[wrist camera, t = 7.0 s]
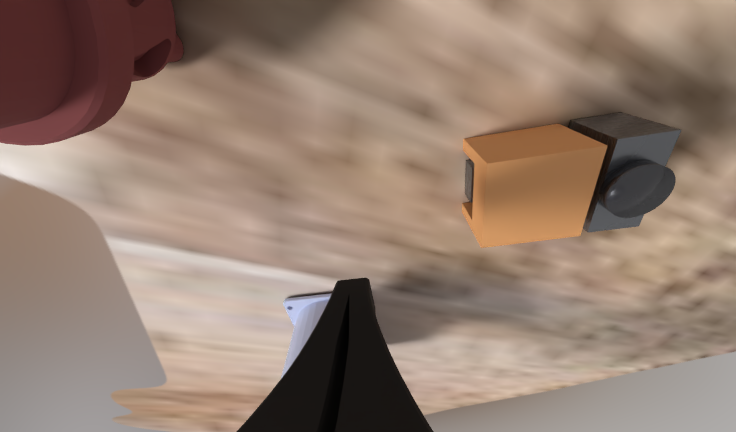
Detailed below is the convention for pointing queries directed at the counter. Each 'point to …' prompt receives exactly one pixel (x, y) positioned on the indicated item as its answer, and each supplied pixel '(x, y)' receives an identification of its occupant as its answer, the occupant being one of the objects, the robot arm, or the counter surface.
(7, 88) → the mechanical component
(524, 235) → the notched orange block
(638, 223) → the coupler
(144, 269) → the counter surface
